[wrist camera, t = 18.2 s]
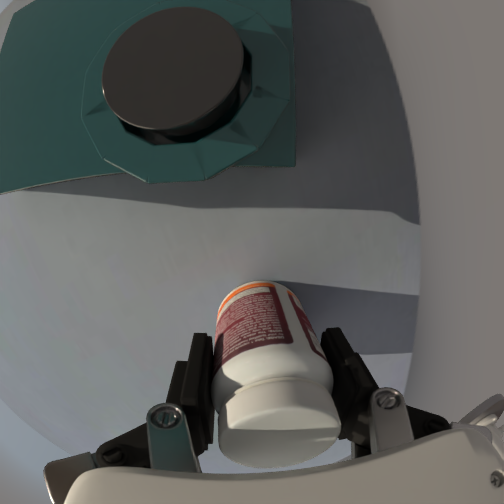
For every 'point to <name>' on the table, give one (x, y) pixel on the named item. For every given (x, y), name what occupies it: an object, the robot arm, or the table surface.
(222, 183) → the table surface
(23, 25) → the teal rectangular block
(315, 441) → the pill bottle
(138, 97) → the dark grey push button
